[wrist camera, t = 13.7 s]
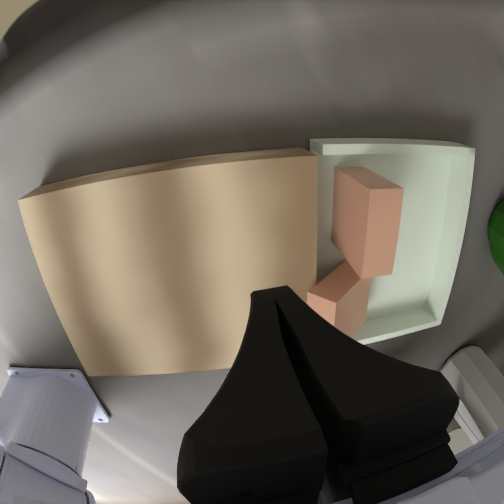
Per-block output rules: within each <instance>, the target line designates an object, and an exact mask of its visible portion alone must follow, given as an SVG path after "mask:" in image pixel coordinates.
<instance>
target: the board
mask: <svg viewBox="0 0 504 504" xmlns="http://www.w3.org/2000/svg"><path fill="white" fill-rule="evenodd" d="M18 204H19V207H20V211H21V215H22V218H23V222H24V225H25V228H26V232H27V235H28V238H29V241H30V244H31V247H32V250H33V253H34V256H35V259H36V262H37V265H38V267H39V270H40V273H41V276H42V278H43V281H44V283H45V286H46V288H47V291H48V293H49V296H50V298H51V301H52V303H53V305H54V308H55V310H56V312H57V314H58V317H59V319H60V321H61V323H62V325H63V328H64V330H65V332H66V334H67V336H68V338H69V340H70V342H71V344H72V346H73V348H74V350H75V352H76V354H77V356H78V358H79V360H80V362H81V363H82V365H83V367H84V369H85V371H86V373H87V374H88V376H131V375H153V374H169V373H182V372H194V371H205V370H215V369H224V368H231V367H232V365H233V363H234V361H235V358H236V356H237V354H238V351H239V349H240V346H241V343H242V340H243V337H244V334H245V330H246V326H247V322H248V318H249V312H250V304H251V297H250V294H251V293H252V292H253V291H257V290H262V289H268V288H274V287H279V286H285V285H288V286H289V287H290V288H291V289H292V290H293V291H294V292H295V293H296V294H297V295H298V296H299V297H300V298H301V299H302V300H303V301H304V302H305V303H306V304H307V292H308V291H309V290H310V289H311V288H313V287H314V286H315V285H316V273H317V228H318V175H317V155H315V154H313V153H311V152H310V151H308V150H306V149H304V148H302V147H298V148H282V149H268V150H255V151H244V152H234V153H224V154H215V155H206V156H198V157H190V158H183V159H176V160H169V161H162V162H156V163H149V164H143V165H137V166H132V167H126V168H121V169H115V170H110V171H105V172H100V173H95V174H90V175H85V176H81V177H76V178H72V179H67V180H63V181H59V182H55V183H50V184H46V185H42V186H39V187H38V188H36V189H34V190H33V191H31V192H30V193H28V194H27V195H25V196H24V197H22V198H20V199H19V200H18Z"/></svg>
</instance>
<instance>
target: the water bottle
mask: <svg viewBox="0 0 504 504" xmlns="http://www.w3.org/2000/svg"><path fill="white" fill-rule="evenodd" d="M439 372H441V373H442V374H443V375H444V377H445V378H446V379H447V380H448V381H449V383H450V384H451V386H452V387H453V389H454V390H455V392H456V393H457V395H458V396H459V398H460V403H459V407H458V409H457V411H456V413H455V415H454V418H455V419H456V421H457V422H458V423H459V425H460V426H461V427H462V429H463V430H464V431H465V433H466V434H467V436H468V437H469V438H470V440H471V441H472V443H473V445H474V444H476V443H477V442H479V441H481V440H482V439H484V438H486V437H487V436H489V435H491V434H492V433H494V432H495V431H497V430H498V429H500V428H501V427H503V426H504V376H503V375H502V374H501V373H500V371H499V370H498V369H497V368H496V366H495V365H494V364H493V363H492V361H491V360H490V359H489V358H488V357H487V355H486V354H485V353H484V352H483V351H482V349H481V348H479V347H476V346H471V345H470V346H468V347H465V348H463V349H460V350H459V351H458V352H456V353H455V354H454V355H453V356H451V357H450V358H449V359H448V360H447V362H446V363H445V364H444V365H443V366H442V368H441V369H440V371H439Z"/></svg>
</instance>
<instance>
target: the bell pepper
mask: <svg viewBox="0 0 504 504" xmlns="http://www.w3.org/2000/svg"><path fill="white" fill-rule="evenodd" d="M488 239H489V241H490V250H491V254H492V257H493V260H494V262H495V263H496V265H497V266H498V268H499V269H500V271H501V272H502V273H503V275H504V200H503V201H501V202H500V204H499V205H498V206H497V207H496V208H495V210H494V211H493V213H492V216H491V218H490V221H489V224H488Z"/></svg>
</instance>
